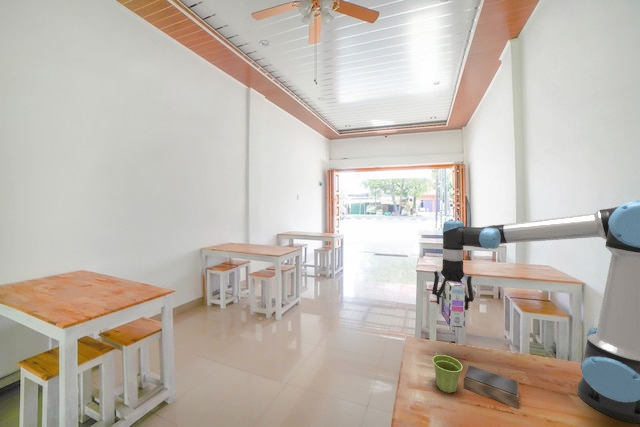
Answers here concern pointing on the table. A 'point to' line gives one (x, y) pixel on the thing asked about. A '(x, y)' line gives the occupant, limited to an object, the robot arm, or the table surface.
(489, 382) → the plinth
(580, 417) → the table surface
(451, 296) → the candy box
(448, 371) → the plant pot
